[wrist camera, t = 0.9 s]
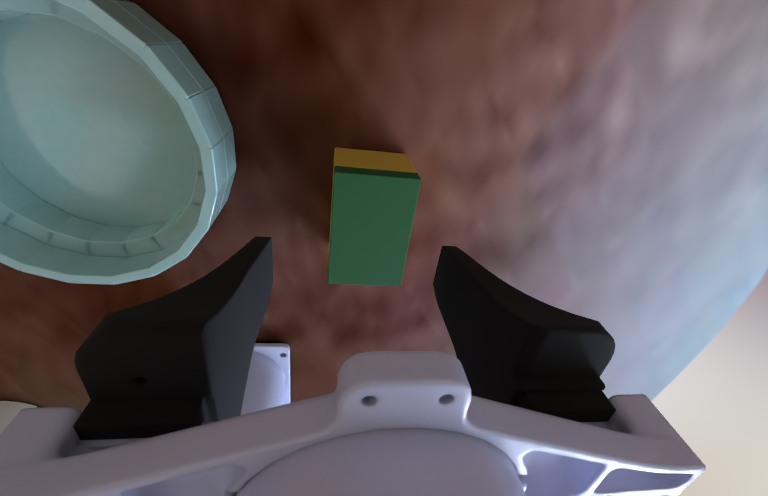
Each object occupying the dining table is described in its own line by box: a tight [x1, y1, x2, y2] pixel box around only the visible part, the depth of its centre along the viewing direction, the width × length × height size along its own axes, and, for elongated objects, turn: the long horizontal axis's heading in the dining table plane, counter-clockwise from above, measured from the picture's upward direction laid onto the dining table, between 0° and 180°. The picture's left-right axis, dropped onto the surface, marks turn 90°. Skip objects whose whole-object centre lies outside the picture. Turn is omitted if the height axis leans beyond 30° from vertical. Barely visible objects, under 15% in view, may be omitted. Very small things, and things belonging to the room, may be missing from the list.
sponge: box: [328, 147, 421, 286], centre depth 22 cm, size 7×4×4 cm, turn 172°
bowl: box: [0, 0, 236, 285], centre depth 18 cm, size 14×14×4 cm
